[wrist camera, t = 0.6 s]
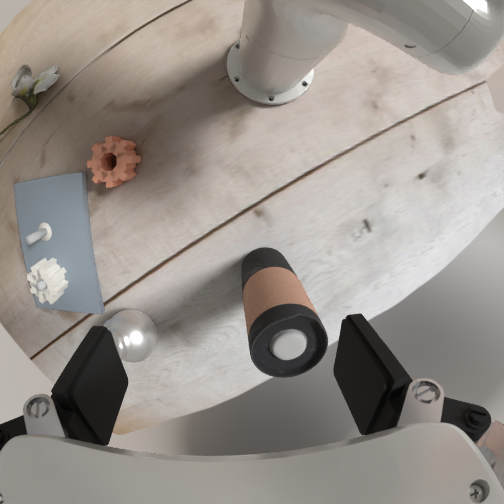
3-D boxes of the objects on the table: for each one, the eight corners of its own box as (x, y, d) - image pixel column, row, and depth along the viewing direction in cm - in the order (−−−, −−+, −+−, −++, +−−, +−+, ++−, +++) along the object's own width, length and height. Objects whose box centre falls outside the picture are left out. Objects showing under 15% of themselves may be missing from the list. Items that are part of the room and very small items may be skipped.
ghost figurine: (123, 288, 42) (100, 320, 33) (170, 317, 45) (159, 354, 35) (106, 324, 44) (86, 357, 35) (150, 349, 47) (137, 386, 37)
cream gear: (33, 265, 38) (21, 273, 34) (55, 250, 38) (43, 259, 34) (51, 298, 40) (41, 309, 37) (75, 287, 40) (64, 297, 36)
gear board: (18, 182, 34) (-4, 187, 28) (86, 171, 36) (64, 174, 30) (40, 303, 42) (24, 320, 36) (104, 309, 43) (90, 329, 37)
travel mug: (250, 297, 45) (265, 387, 26) (232, 256, 42) (235, 335, 23) (295, 280, 44) (336, 361, 25) (279, 237, 42) (318, 302, 23)
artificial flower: (-11, 138, 31) (-41, 125, 21) (68, 69, 33) (43, 42, 23) (-9, 173, 32) (-43, 163, 22) (74, 100, 33) (45, 73, 23)
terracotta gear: (98, 140, 34) (86, 139, 31) (141, 135, 35) (132, 133, 31) (99, 186, 37) (88, 189, 33) (141, 183, 37) (132, 185, 34)
